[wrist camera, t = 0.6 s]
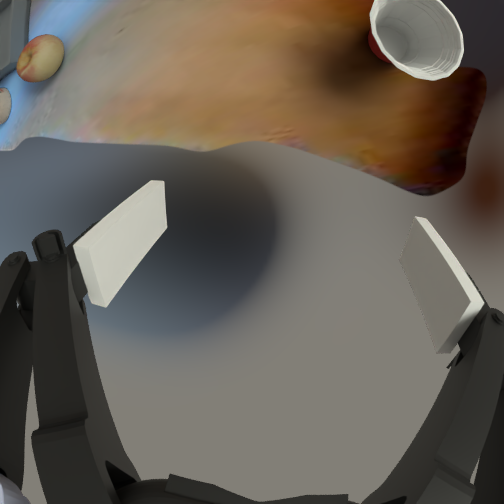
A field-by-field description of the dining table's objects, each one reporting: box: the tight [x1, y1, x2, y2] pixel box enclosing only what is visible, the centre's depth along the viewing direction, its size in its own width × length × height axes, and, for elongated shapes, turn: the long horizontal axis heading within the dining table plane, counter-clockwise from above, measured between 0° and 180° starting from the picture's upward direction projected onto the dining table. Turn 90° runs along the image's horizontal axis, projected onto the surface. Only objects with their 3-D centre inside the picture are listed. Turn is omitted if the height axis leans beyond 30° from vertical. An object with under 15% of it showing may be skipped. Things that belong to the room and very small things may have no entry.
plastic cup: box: [368, 0, 464, 80], centre depth 22 cm, size 11×11×12 cm
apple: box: [16, 34, 64, 82], centre depth 28 cm, size 9×9×8 cm
